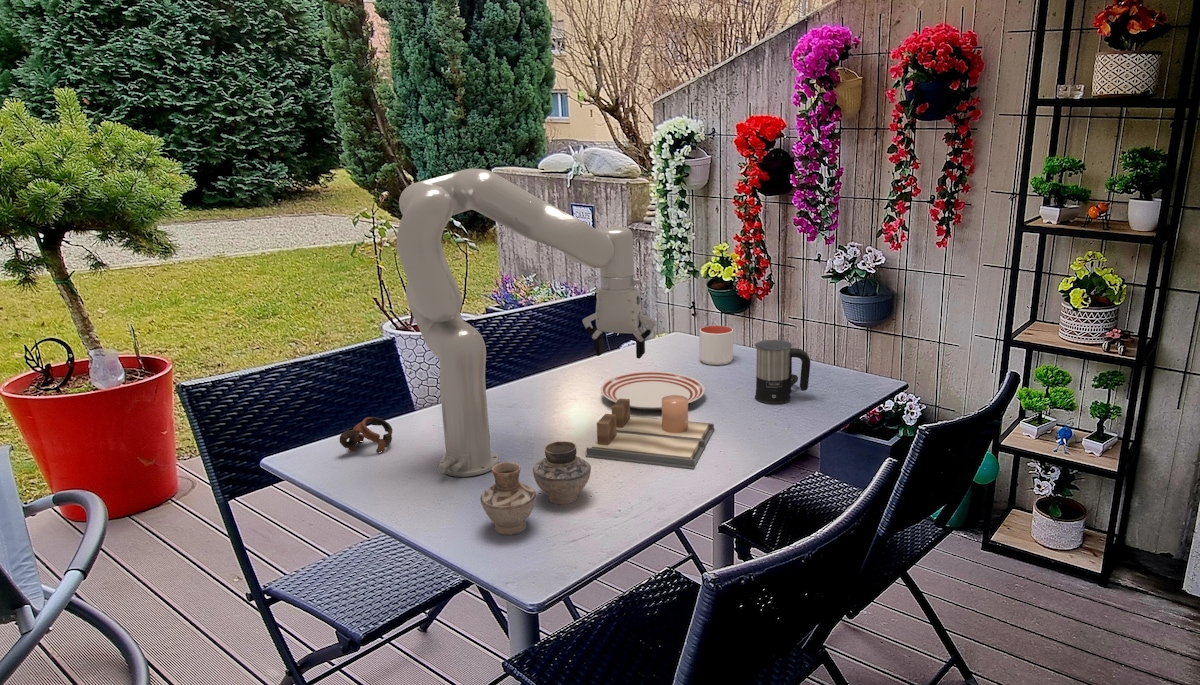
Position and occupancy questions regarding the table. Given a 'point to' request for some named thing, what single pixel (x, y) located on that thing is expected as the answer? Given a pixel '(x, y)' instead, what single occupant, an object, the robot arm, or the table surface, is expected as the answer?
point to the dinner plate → (651, 388)
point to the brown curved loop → (367, 434)
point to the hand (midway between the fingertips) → (619, 355)
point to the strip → (641, 441)
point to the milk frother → (778, 371)
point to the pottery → (516, 500)
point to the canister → (674, 414)
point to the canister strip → (651, 424)
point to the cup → (716, 345)
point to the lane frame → (653, 458)
